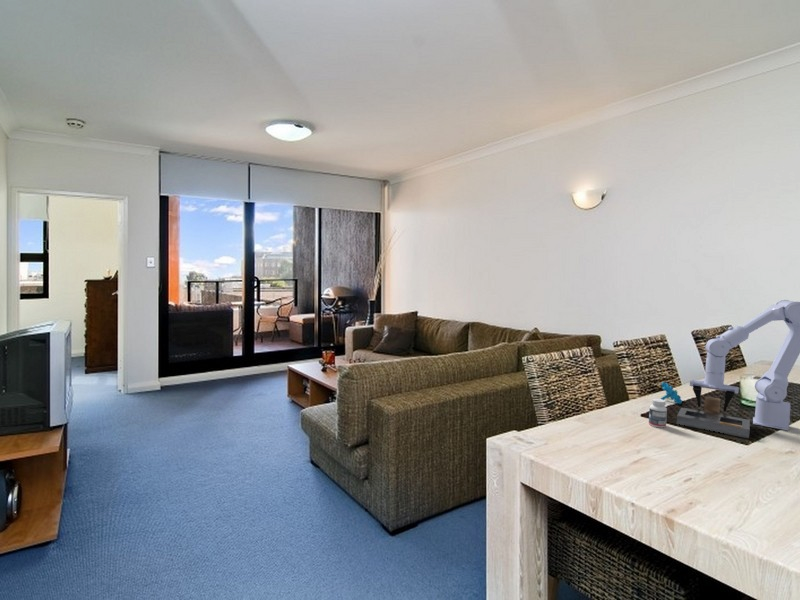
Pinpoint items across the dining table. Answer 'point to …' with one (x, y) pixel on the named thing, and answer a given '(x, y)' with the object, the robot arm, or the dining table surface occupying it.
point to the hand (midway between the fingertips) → (711, 408)
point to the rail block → (714, 422)
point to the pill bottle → (658, 413)
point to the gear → (671, 393)
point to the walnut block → (712, 405)
